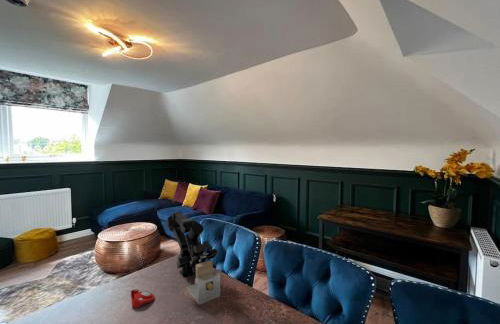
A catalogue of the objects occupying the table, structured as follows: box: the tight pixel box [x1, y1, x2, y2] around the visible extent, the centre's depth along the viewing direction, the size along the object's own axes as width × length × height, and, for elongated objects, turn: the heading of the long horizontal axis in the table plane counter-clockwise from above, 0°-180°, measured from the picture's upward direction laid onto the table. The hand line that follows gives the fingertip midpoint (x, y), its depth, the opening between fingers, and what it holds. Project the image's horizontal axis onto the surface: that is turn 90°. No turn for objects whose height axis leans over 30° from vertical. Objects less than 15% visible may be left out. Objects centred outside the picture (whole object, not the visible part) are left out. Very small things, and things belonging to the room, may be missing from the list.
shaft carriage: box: [195, 260, 214, 291], centre depth 101 cm, size 8×7×13 cm
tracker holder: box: [130, 288, 156, 309], centre depth 99 cm, size 12×4×10 cm
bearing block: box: [186, 271, 221, 305], centre depth 105 cm, size 15×10×10 cm
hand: (203, 276), depth 105 cm, fingers closed, pressing on shaft carriage
